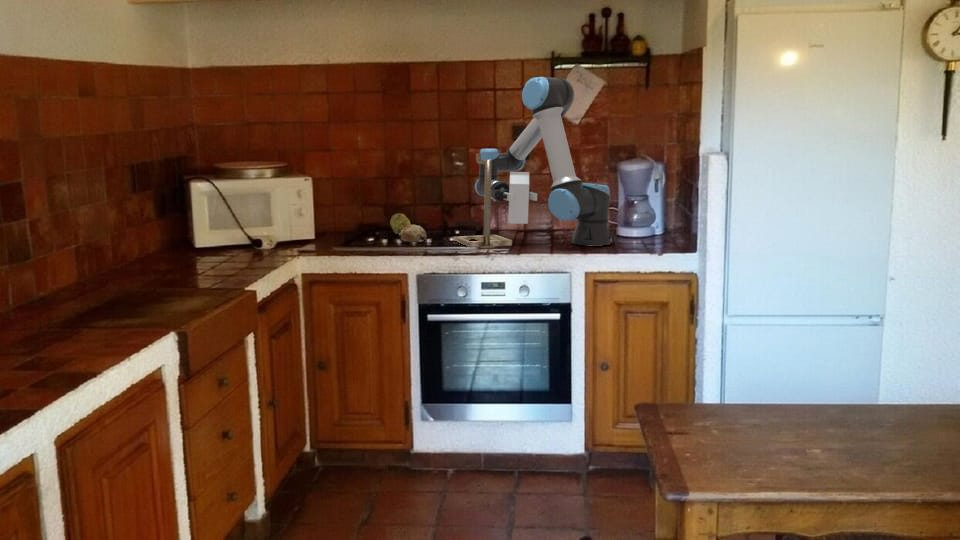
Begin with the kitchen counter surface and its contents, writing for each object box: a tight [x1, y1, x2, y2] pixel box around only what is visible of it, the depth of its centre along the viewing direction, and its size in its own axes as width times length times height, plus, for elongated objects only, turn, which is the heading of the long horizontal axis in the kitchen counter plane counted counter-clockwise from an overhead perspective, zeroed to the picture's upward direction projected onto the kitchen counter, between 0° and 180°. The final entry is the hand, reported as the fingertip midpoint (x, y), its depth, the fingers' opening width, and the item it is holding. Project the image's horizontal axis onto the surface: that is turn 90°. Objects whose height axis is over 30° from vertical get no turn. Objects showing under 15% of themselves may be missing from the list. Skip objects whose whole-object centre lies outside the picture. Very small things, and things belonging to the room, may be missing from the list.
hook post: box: [475, 153, 495, 249], centre depth 340 cm, size 5×11×34 cm, turn 24°
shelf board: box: [452, 234, 513, 248], centre depth 348 cm, size 18×14×2 cm
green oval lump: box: [389, 212, 412, 235], centre depth 366 cm, size 8×13×8 cm, turn 8°
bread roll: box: [398, 224, 428, 243], centre depth 352 cm, size 10×10×8 cm
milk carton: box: [507, 171, 530, 225], centre depth 344 cm, size 7×7×19 cm
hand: (524, 197), depth 340 cm, fingers closed on milk carton, 9 cm apart
